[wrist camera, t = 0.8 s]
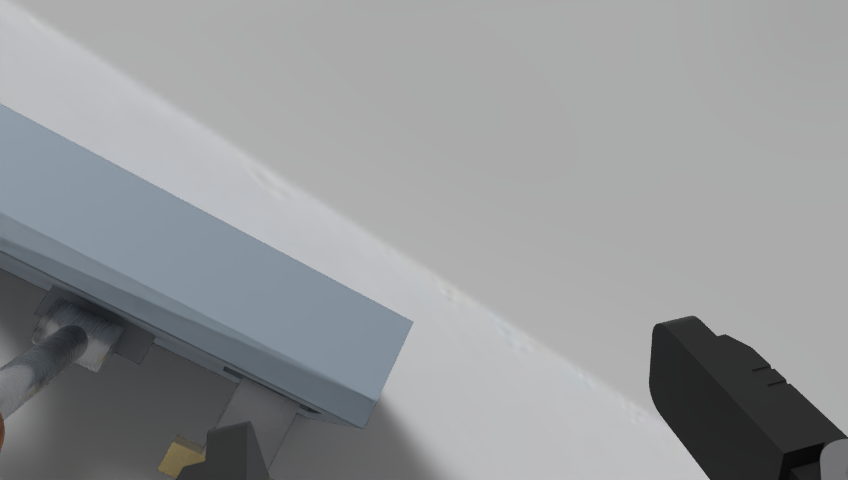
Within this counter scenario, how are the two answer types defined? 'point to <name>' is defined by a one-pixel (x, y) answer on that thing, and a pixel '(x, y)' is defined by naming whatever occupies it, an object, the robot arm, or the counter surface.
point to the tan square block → (245, 404)
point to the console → (186, 279)
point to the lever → (57, 353)
